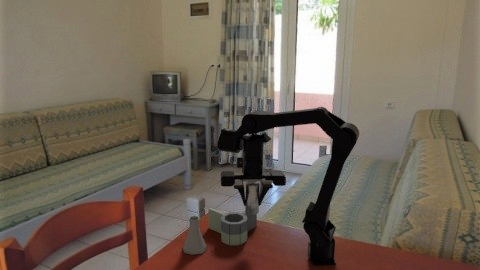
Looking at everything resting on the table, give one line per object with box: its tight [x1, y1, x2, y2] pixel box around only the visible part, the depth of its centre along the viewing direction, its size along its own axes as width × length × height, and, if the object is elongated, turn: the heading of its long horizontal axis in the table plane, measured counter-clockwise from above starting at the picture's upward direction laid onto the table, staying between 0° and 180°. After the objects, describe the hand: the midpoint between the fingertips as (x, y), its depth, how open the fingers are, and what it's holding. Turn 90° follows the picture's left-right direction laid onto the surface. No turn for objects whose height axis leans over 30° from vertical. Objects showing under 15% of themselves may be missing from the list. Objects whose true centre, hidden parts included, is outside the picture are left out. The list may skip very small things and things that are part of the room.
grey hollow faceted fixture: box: [221, 211, 258, 235], centre depth 113 cm, size 15×8×7 cm, turn 139°
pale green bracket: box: [207, 207, 248, 246], centre depth 112 cm, size 15×8×7 cm, turn 49°
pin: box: [244, 181, 260, 215], centre depth 105 cm, size 4×4×9 cm
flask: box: [182, 215, 208, 256], centre depth 104 cm, size 7×7×10 cm
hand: (252, 205), depth 105 cm, fingers closed on pin, 4 cm apart
